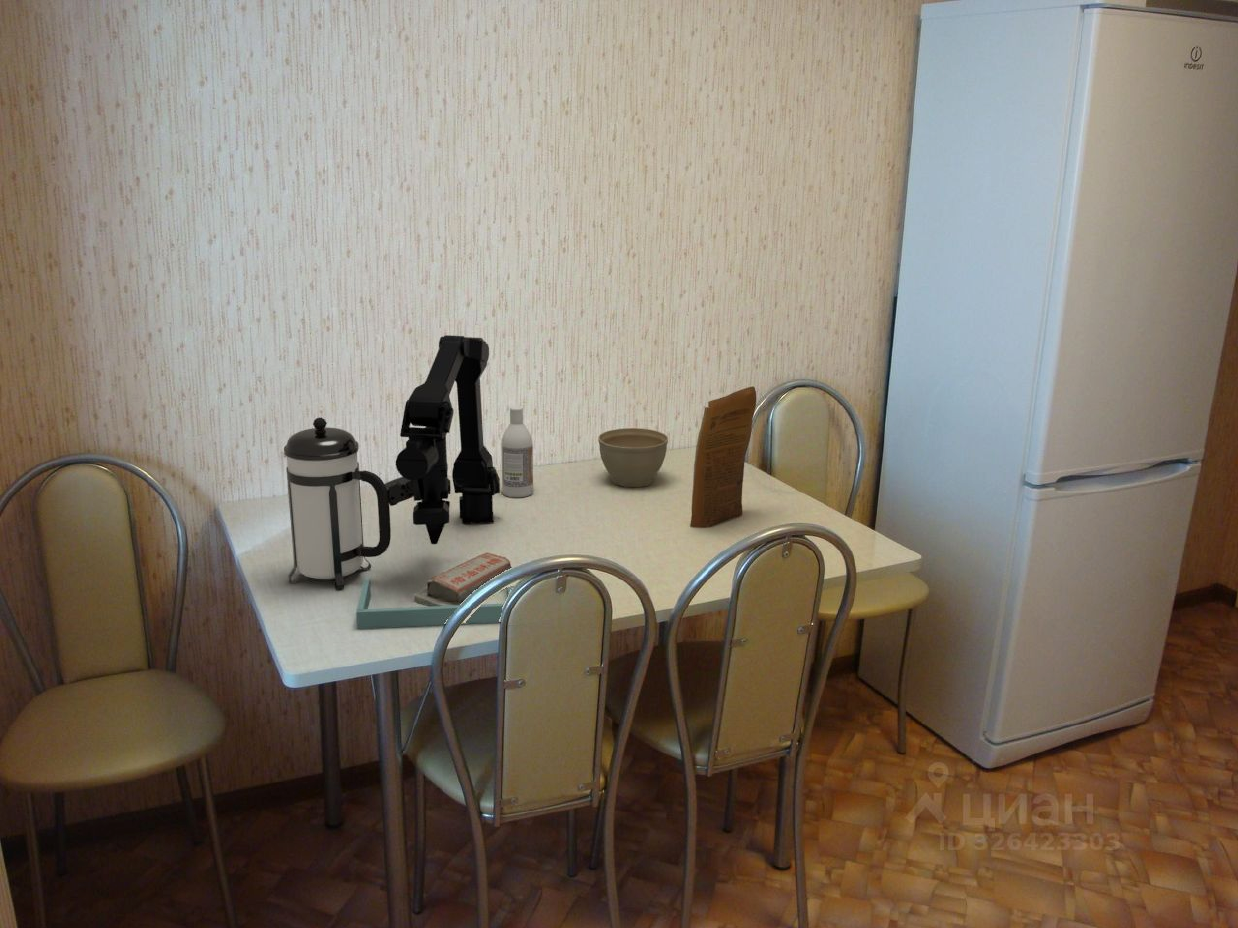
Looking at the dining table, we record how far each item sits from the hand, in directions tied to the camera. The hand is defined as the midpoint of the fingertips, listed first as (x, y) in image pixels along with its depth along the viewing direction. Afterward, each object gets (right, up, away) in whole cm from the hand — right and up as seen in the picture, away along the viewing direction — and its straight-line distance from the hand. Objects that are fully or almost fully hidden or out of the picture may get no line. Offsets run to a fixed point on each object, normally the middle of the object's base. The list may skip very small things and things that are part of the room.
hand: (434, 543), depth 200 cm
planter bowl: (+37, +10, +55) cm, 67 cm away
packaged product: (+7, -9, -5) cm, 12 cm away
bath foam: (+11, +8, +46) cm, 48 cm away
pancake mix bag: (+55, +3, +31) cm, 64 cm away
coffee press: (-18, -6, 0) cm, 19 cm away
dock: (+3, -10, -13) cm, 16 cm away
